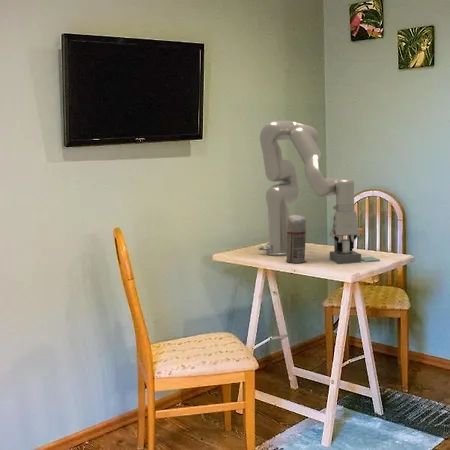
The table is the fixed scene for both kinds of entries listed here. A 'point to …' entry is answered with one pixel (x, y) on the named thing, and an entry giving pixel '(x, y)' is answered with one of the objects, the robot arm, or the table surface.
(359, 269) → the table surface
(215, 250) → the table surface
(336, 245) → the post
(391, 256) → the table surface
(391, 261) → the table surface
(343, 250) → the plug
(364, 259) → the mat
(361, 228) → the orange rectangular bar
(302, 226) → the spray can
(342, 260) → the socket block
